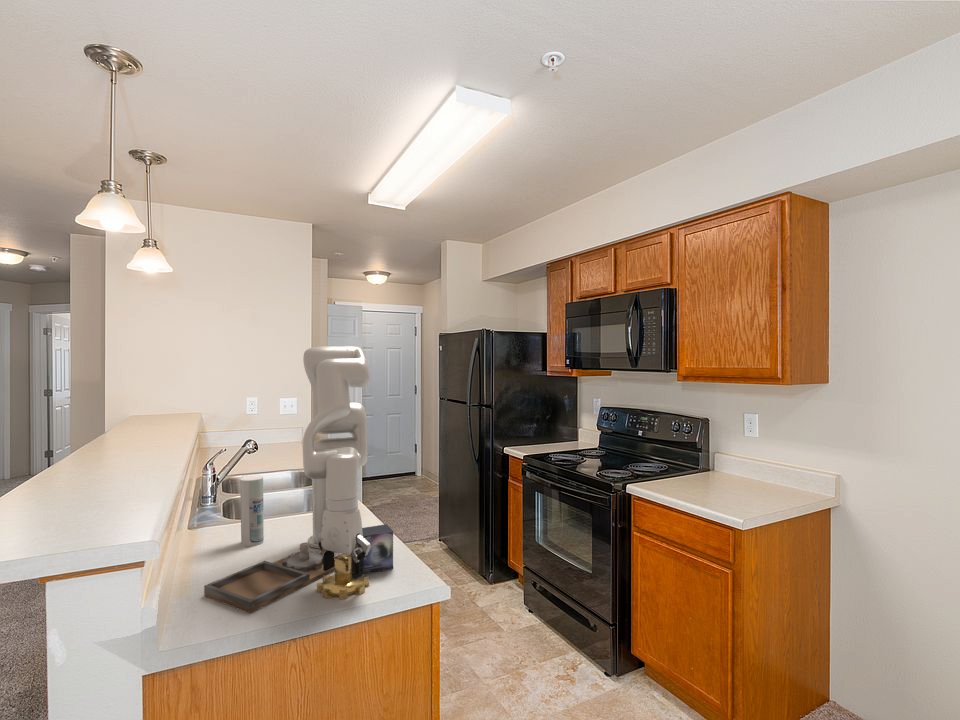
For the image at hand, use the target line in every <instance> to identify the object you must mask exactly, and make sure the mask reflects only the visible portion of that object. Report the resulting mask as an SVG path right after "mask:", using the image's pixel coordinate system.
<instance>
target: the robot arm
mask: <svg viewBox="0 0 960 720" xmlns="http://www.w3.org/2000/svg"><path fill="white" fill-rule="evenodd" d="M302 360H303V361H302V362H303V366H304V367H303V368H304V371H305V373H306V376H307V379H308V382H309V383H310V387H311V392H312V420H311V421H310V422H309V424H308V425H307V427H306V429H305V431H304V432H303V433H304V434H303V438H302V465H303V473H304V474H305V476H306V477H307V478H308V479H311V489H312V490H311V491H312V493H311V495H312V535H311V536H309V537H308V539H307V543H309V547H311V548H314V549H320V552H321V554H322V555H323V570H324V571H327V570H329V569H331V568H333V567H334V566H335V562H334V560H335V553H337V554H339V555H341V554H345V555H350V554H351V556H352V558H353V560H354V561H355V562H353V563H352V577H353V579H357V578H358V577H360V576H362V575H363V576H364V575H365V574H364V569H363V560H364V559H365V558H366V556H367V555H368V554H369V551H370V548H371V544H370V543H369V542H368V541H367V540H366V539H364V538H363V531H362V528H363V523H362V516H361V511H360V509H359V486H358V485H359V484H358V482H359V481H358V480H359V477H358V475H359V474H358V471H359V469H360V468H361V467H364V466H365V465H366V464H367V462H368V455H369V454H368V426H367V425H368V423H367V413H366V409H365V406H364V405H363V404H362V403H360V402H356V401H353V402H352V401H351V399H350V388H351V389H352V388H353V389H355V388H364V387H366V386H368V384H369V381H370V367H369V364H368V361H367V359H366V355H365V353H364V352H363V350H362V349H361V348H360V347H359V346H345V345H343V346H333V345H329V346H323V345H322V346H315V347H314V346H313V347H309V348H307V349H306V350H305V351H304V352H303V359H302ZM317 434H322V435H334V434H335V435H336V434H350V435H351V436H350V437H349V436H348V437H347V436H346V437H330V438H321V439H318V440H315V437H316V435H317ZM362 547H363V551H362V549H361V548H362ZM356 552H358V554H359V555H358V556H357V554H356Z"/></svg>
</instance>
